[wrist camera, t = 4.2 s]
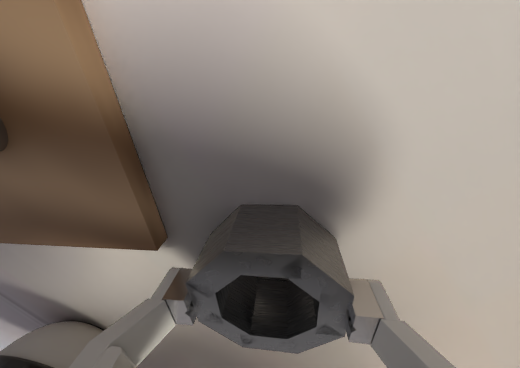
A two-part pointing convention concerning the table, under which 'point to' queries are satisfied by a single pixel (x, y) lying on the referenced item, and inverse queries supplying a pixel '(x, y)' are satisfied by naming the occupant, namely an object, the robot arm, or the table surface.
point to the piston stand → (66, 137)
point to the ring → (272, 281)
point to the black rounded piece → (49, 346)
